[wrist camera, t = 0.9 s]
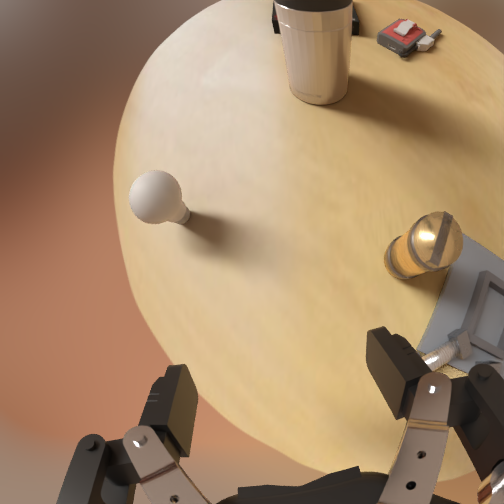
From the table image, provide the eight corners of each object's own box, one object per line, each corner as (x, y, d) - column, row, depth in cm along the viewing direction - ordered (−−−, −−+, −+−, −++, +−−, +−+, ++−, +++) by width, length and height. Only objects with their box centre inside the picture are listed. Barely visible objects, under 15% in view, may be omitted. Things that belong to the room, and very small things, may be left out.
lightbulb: (160, 207, 39) (115, 178, 28) (197, 189, 38) (159, 151, 27) (171, 245, 37) (123, 225, 27) (210, 227, 36) (172, 198, 26)
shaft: (453, 328, 28) (466, 330, 24) (459, 349, 27) (472, 352, 23) (402, 358, 28) (412, 364, 25) (409, 379, 28) (419, 387, 24)
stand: (459, 234, 29) (469, 229, 26) (533, 287, 25) (545, 285, 22) (416, 349, 28) (425, 353, 25) (499, 387, 24) (509, 392, 21)
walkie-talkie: (411, 67, 35) (442, 37, 35) (416, 51, 31) (447, 23, 31) (371, 45, 37) (410, 18, 37) (373, 28, 33) (412, 4, 33)
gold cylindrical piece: (391, 233, 32) (426, 199, 20) (423, 250, 30) (470, 225, 19) (376, 269, 31) (409, 252, 20) (410, 286, 30) (455, 278, 18)
